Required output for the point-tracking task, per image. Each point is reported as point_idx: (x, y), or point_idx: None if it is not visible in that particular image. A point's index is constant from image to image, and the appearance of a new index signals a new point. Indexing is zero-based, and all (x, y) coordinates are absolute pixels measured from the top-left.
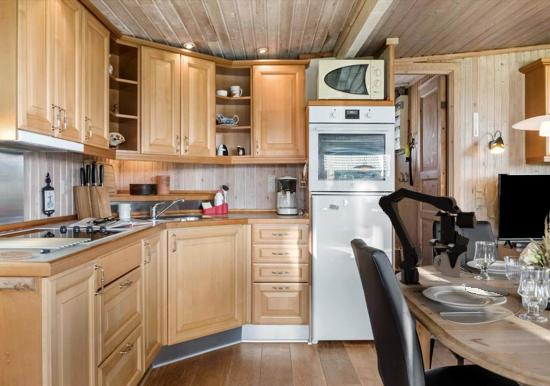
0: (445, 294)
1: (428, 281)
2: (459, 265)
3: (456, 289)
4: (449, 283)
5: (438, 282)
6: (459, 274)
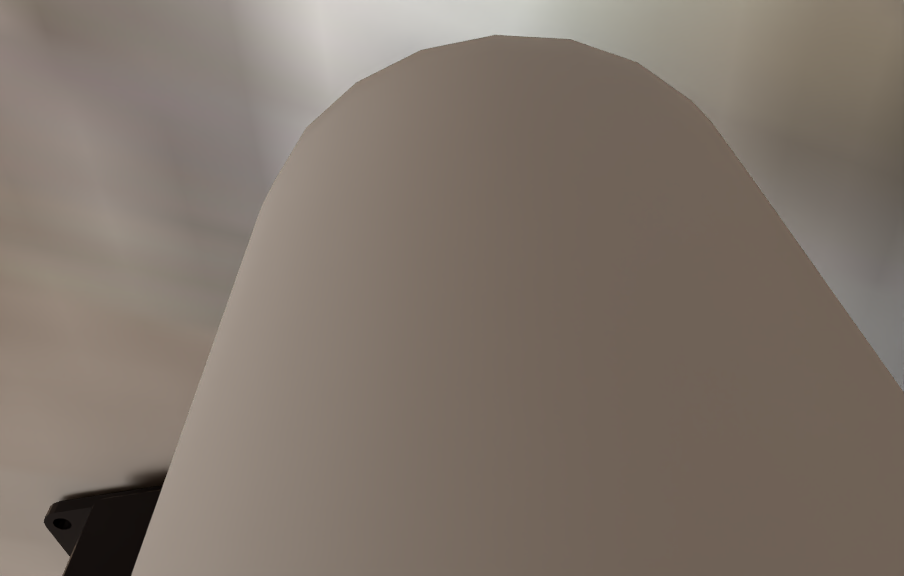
0: (879, 316)
1: (11, 330)
2: (827, 285)
3: (597, 45)
4: (61, 8)
5: (37, 197)
6: (705, 118)
